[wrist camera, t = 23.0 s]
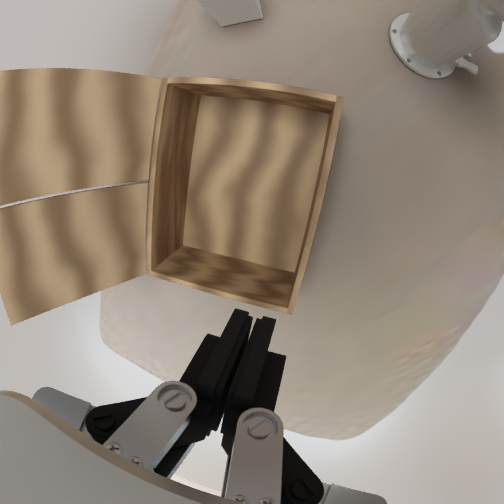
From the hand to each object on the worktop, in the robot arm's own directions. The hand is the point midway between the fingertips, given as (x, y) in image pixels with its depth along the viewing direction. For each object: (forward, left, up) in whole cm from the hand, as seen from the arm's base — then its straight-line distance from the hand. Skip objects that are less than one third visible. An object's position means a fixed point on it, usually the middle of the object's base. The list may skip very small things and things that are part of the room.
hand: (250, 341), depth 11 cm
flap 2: (+23, +7, -12) cm, 27 cm away
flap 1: (+23, -7, -12) cm, 27 cm away
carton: (+8, 0, -35) cm, 36 cm away
